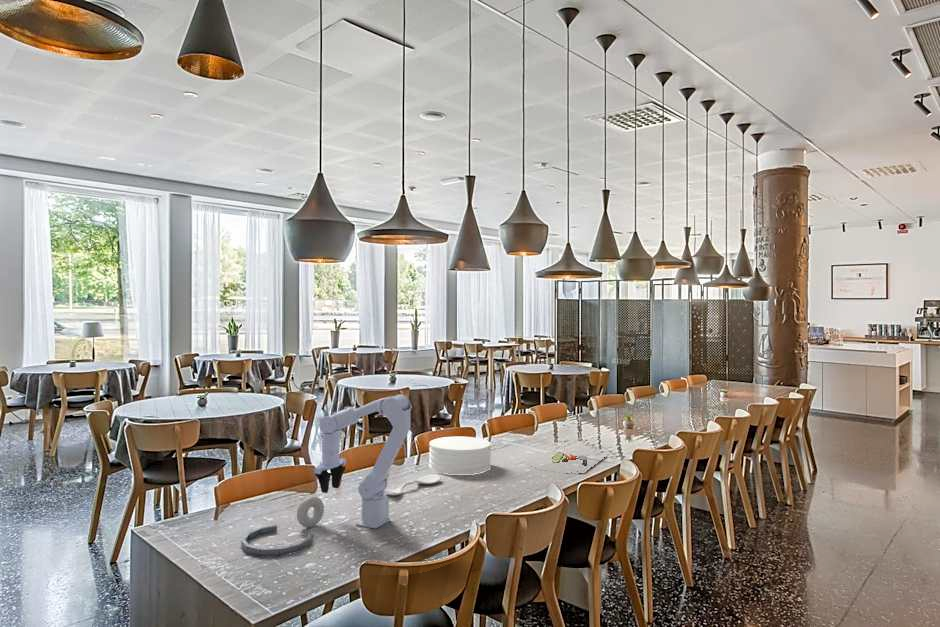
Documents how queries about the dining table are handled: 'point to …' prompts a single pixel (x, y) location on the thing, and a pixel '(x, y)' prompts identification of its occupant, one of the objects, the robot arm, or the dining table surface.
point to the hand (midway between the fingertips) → (330, 490)
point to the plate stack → (459, 455)
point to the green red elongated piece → (560, 455)
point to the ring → (271, 551)
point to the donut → (303, 511)
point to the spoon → (423, 480)
